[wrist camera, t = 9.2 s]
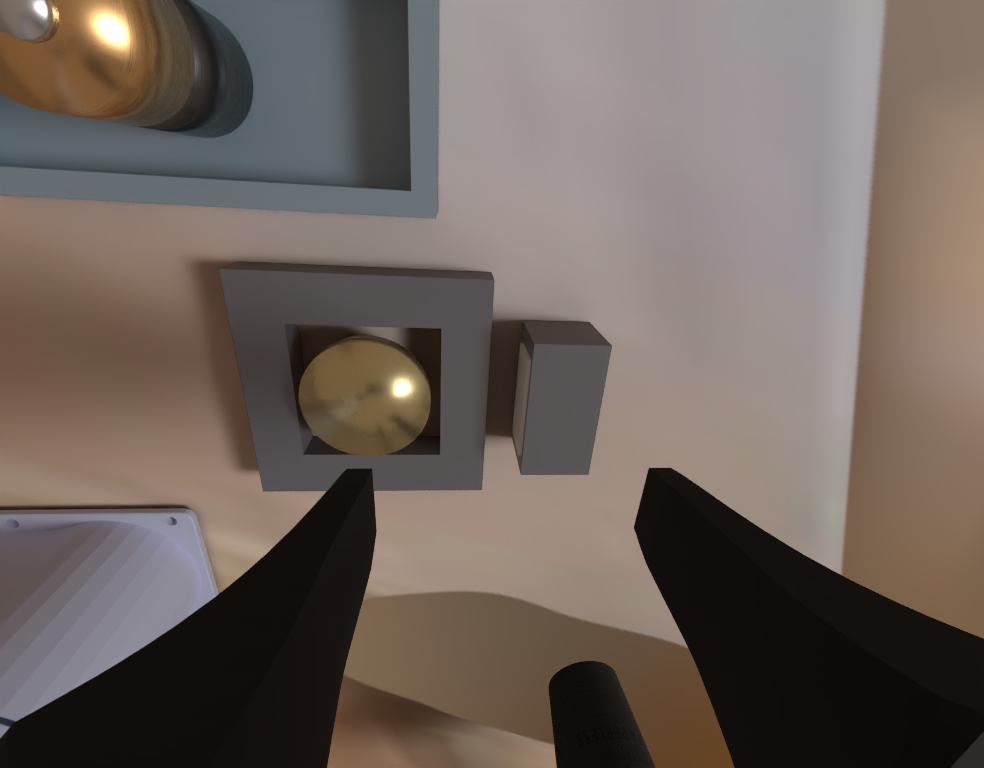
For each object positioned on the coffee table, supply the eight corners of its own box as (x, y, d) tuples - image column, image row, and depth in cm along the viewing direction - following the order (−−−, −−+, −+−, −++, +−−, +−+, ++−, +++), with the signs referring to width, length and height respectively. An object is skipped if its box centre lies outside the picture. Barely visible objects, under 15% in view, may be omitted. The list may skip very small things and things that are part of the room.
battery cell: (149, 133, 15) (-53, 104, 9) (117, -3, 13) (-151, -147, 7) (261, 141, 15) (137, 117, 9) (242, 8, 14) (81, -121, 8)
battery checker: (275, 471, 22) (249, 513, 19) (236, 261, 17) (196, 277, 15) (566, 470, 23) (581, 510, 20) (596, 276, 19) (621, 293, 16)
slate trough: (-8, 188, 16) (-89, 190, 13) (-121, -109, 12) (-255, -175, 10) (437, 212, 17) (435, 218, 15) (439, -45, 14) (437, -90, 12)
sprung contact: (312, 445, 20) (306, 456, 19) (296, 333, 17) (290, 340, 17) (431, 446, 20) (430, 456, 19) (431, 337, 18) (430, 343, 17)
